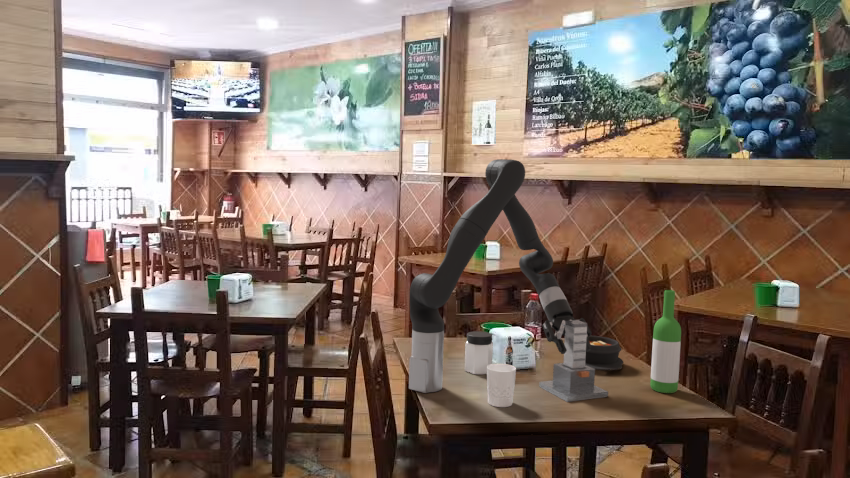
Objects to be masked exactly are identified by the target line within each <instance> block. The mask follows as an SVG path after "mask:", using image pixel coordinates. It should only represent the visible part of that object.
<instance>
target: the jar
mask: <svg viewBox="0 0 850 478" xmlns="http://www.w3.org/2000/svg"><path fill="white" fill-rule="evenodd" d="M464 349H465V350H464V351H465V352H464V372H467V373H469V372H470V373H469V374H472V375H487V366H488V365H490V364H493V354H494V353H493V352H494V341H493V334H492V333H490V332H488V331H479V330H478V331H477V330H476V331H475V330H474V331H469V332H467V333H466V342H465V346H464Z"/></svg>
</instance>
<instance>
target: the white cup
mask: <svg viewBox="0 0 850 478" xmlns="http://www.w3.org/2000/svg"><path fill="white" fill-rule="evenodd" d="M516 374H517V368H516V366H514V365H511V364H507V363H492V364H490V365H488V366H487V374H486V387H487V388H486V389H487V390H486V391H487V404H489V405H490V406H492V407H498V408H507V407H511V406H512V405H513V401H514V393H515V385H516V376H517V375H516Z"/></svg>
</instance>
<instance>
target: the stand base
mask: <svg viewBox="0 0 850 478" xmlns="http://www.w3.org/2000/svg"><path fill="white" fill-rule="evenodd" d="M552 369H553V370H552V371H553V372H552V373H553V375H552V380H551V379H550V380H545V381H539V382H538V383H539V384H538V385H539V386H538V387H539V388H541V389H542V390H543V391H544V390H545V391H546V392H547V393H550V394H552V395H553V396H556V397H558V398H559V399H561V400H563V401H565V402H567V403H571V402H577V401H585V400H592V399H594V400H595V399H601V398H608V397H609V391H608V390H607V389H606V390H605V389H603V388H601V387H600V386H597V385H595V378H596V370H595V369H593V368H591V367H589V366H586V365H585V369H575V370H571V369H569V368H567V367H565V366H563V362H561V363H560V362H559V363H558V362H557V363H553V368H552Z"/></svg>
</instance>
